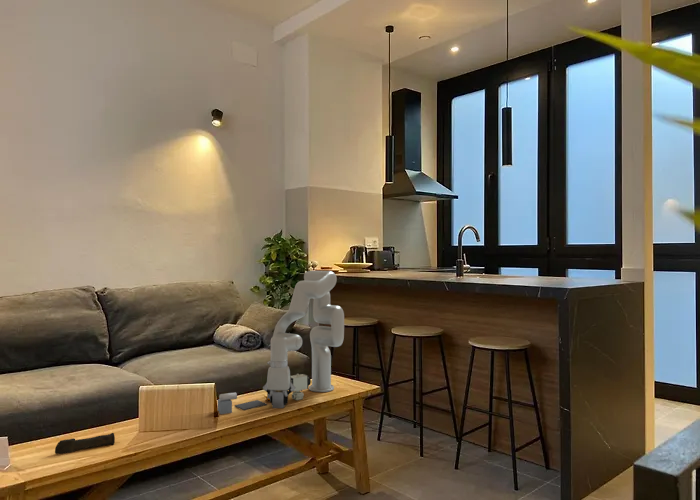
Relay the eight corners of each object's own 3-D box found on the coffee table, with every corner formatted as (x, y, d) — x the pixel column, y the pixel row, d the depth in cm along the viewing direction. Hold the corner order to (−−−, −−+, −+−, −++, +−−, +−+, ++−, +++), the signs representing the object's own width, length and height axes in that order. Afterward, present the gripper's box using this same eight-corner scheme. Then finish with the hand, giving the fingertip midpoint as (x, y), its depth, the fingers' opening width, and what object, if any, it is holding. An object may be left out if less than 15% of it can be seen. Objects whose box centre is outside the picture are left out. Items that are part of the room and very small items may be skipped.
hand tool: (113, 442, 194) (113, 429, 194) (115, 445, 191) (115, 432, 191) (55, 452, 185) (54, 439, 185) (55, 456, 181) (55, 442, 181)
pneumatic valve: (310, 398, 250) (310, 372, 250) (289, 402, 242) (289, 376, 242) (304, 395, 254) (304, 370, 254) (283, 399, 247) (283, 374, 247)
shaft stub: (234, 408, 234) (234, 391, 234) (237, 411, 229) (237, 393, 229) (217, 411, 230) (217, 393, 230) (220, 414, 226) (220, 396, 226)
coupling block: (274, 404, 239) (274, 387, 239) (285, 404, 239) (285, 388, 239) (272, 408, 234) (272, 390, 234) (283, 408, 234) (283, 391, 234)
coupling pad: (257, 401, 245) (257, 399, 245) (267, 405, 239) (267, 403, 239) (234, 406, 237) (234, 405, 237) (243, 410, 231) (243, 409, 231)
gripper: (258, 365, 234) (258, 406, 234) (296, 366, 232) (296, 407, 232) (262, 361, 241) (262, 401, 241) (299, 362, 240) (299, 402, 240)
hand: (279, 404), depth 237 cm, fingers closed on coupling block, 5 cm apart
